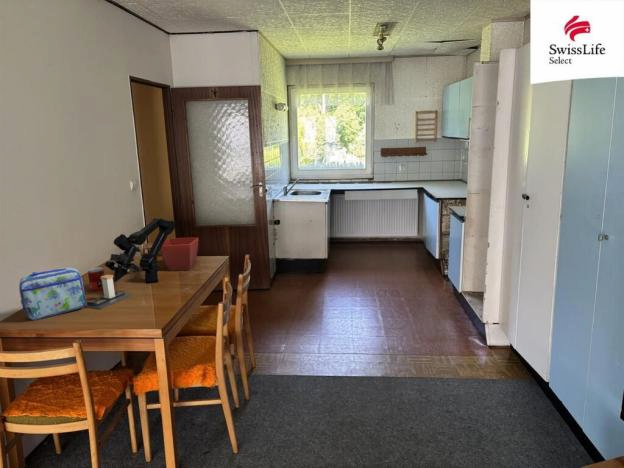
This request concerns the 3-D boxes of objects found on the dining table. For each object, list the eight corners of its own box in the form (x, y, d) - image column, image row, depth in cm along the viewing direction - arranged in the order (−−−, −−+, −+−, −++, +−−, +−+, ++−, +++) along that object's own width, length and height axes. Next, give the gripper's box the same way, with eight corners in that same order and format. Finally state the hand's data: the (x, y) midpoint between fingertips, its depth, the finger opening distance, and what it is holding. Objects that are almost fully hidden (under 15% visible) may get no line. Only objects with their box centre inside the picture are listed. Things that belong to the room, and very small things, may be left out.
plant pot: (171, 263, 297) (168, 238, 293) (201, 262, 296) (198, 236, 292) (161, 272, 278) (157, 245, 274) (192, 272, 277) (189, 244, 273)
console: (114, 292, 246) (113, 288, 245) (131, 295, 241) (131, 290, 240) (82, 306, 228) (81, 301, 227) (100, 309, 223) (99, 304, 222)
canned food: (100, 291, 250) (97, 271, 247) (87, 290, 251) (84, 271, 249) (109, 286, 257) (106, 267, 255) (96, 286, 259) (93, 266, 256)
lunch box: (24, 323, 210) (16, 279, 205) (23, 316, 219) (15, 273, 214) (87, 309, 223) (81, 267, 219) (84, 303, 232) (78, 262, 228)
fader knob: (110, 295, 238) (107, 274, 236) (116, 296, 236) (113, 275, 234) (103, 298, 234) (100, 277, 232) (109, 298, 233) (106, 277, 230)
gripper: (105, 246, 243) (90, 272, 235) (132, 248, 235) (118, 275, 228) (118, 256, 251) (105, 282, 244) (145, 259, 244) (132, 286, 236)
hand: (114, 281), depth 238 cm, fingers closed
